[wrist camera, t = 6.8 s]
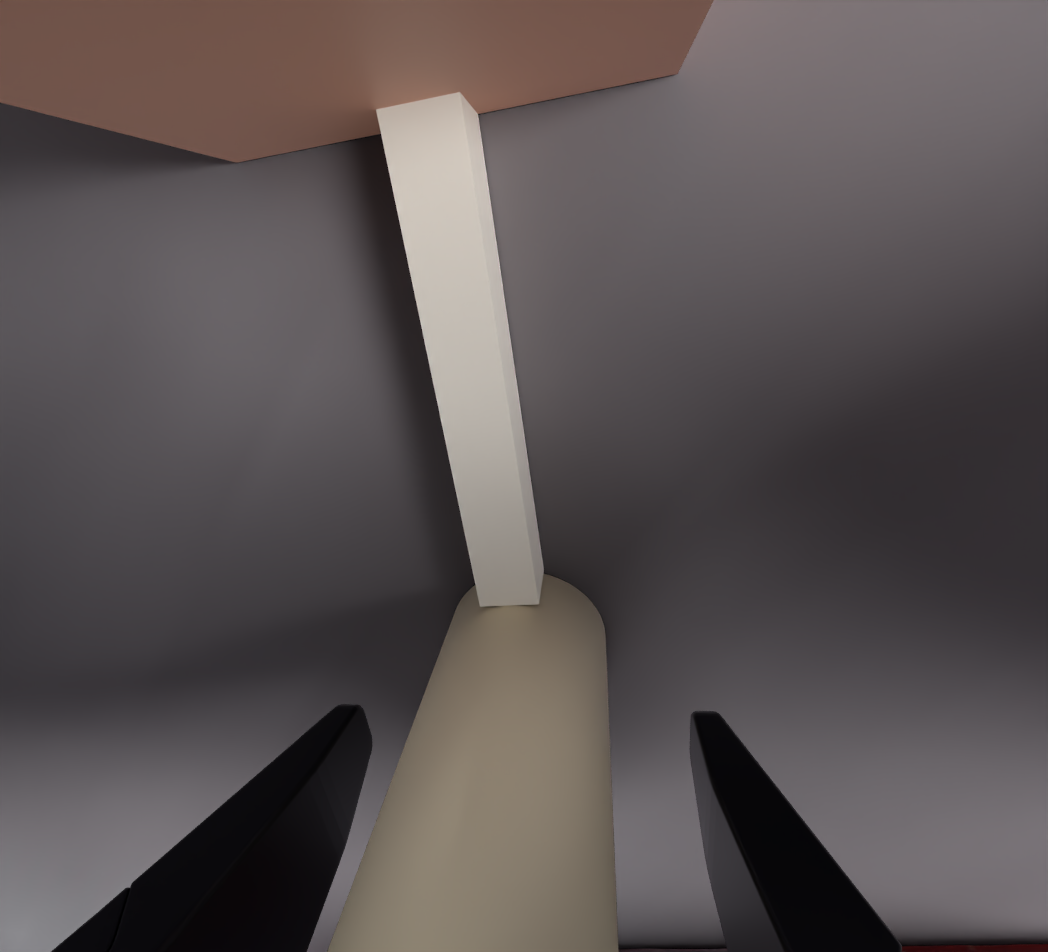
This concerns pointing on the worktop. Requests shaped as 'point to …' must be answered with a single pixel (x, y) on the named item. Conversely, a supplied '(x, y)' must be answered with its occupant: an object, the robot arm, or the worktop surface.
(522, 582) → the toy mallet
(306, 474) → the worktop surface
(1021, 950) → the soda box
